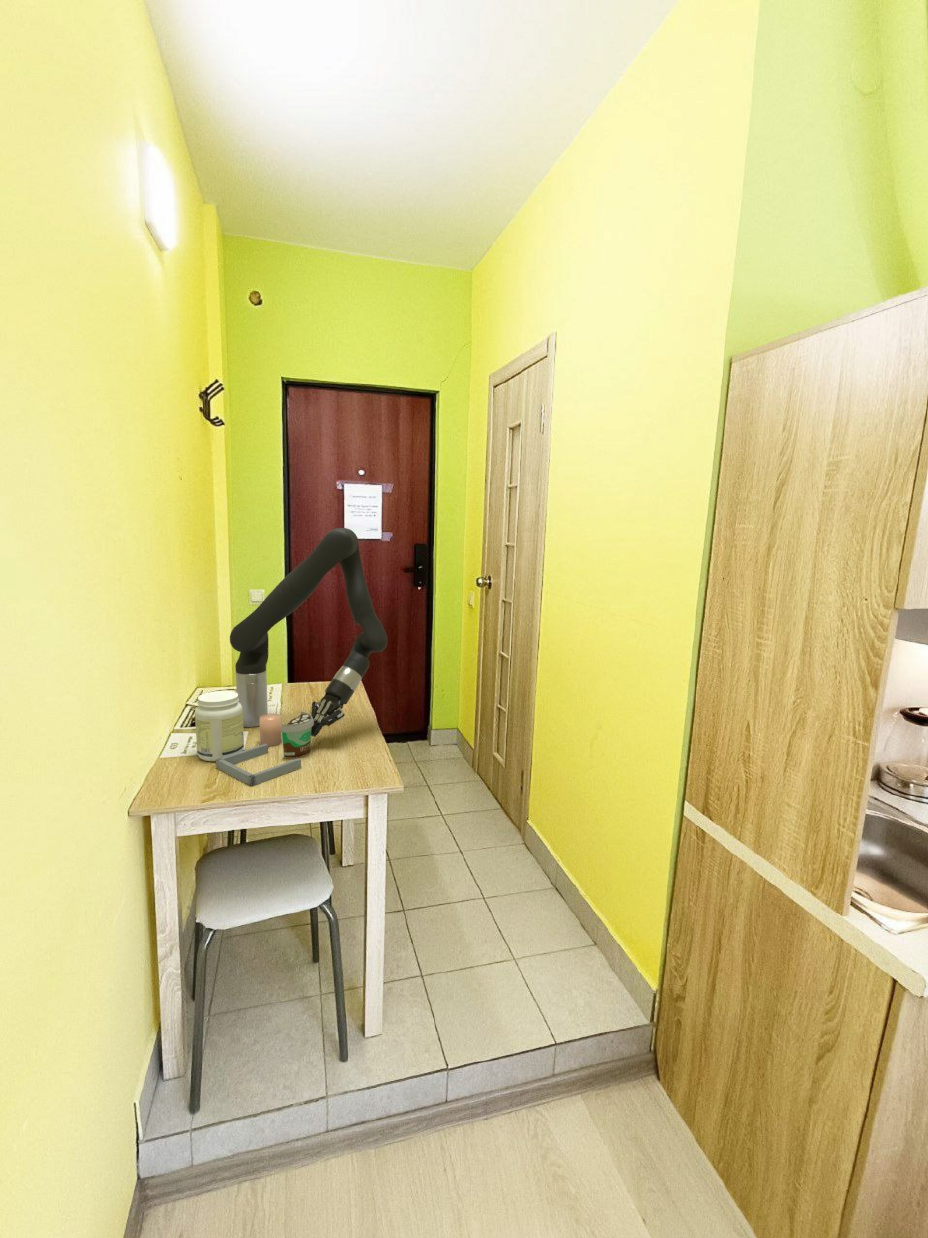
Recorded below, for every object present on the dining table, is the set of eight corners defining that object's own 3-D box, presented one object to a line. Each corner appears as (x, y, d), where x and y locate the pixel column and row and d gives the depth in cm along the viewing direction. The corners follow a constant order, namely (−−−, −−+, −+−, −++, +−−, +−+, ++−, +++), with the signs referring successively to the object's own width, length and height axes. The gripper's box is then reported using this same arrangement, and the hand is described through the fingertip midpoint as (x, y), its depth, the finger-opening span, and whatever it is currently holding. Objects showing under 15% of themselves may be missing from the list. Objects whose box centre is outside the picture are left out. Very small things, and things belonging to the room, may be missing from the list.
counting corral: (216, 768, 154) (216, 759, 154) (265, 751, 166) (265, 743, 165) (251, 786, 144) (251, 777, 144) (301, 767, 156) (300, 759, 155)
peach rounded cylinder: (256, 743, 172) (255, 717, 171) (273, 737, 177) (273, 712, 175) (268, 748, 168) (267, 721, 167) (285, 742, 173) (285, 716, 172)
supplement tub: (244, 744, 171) (242, 688, 168) (243, 760, 160) (241, 700, 157) (199, 748, 167) (196, 691, 164) (194, 765, 156) (191, 704, 153)
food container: (302, 762, 159) (301, 727, 158) (281, 759, 161) (280, 725, 159) (321, 745, 171) (321, 712, 170) (302, 743, 172) (301, 711, 171)
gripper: (322, 674, 177) (289, 723, 169) (351, 682, 169) (318, 734, 161) (336, 687, 182) (304, 735, 174) (365, 695, 174) (333, 747, 166)
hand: (311, 735), depth 168 cm, fingers closed
